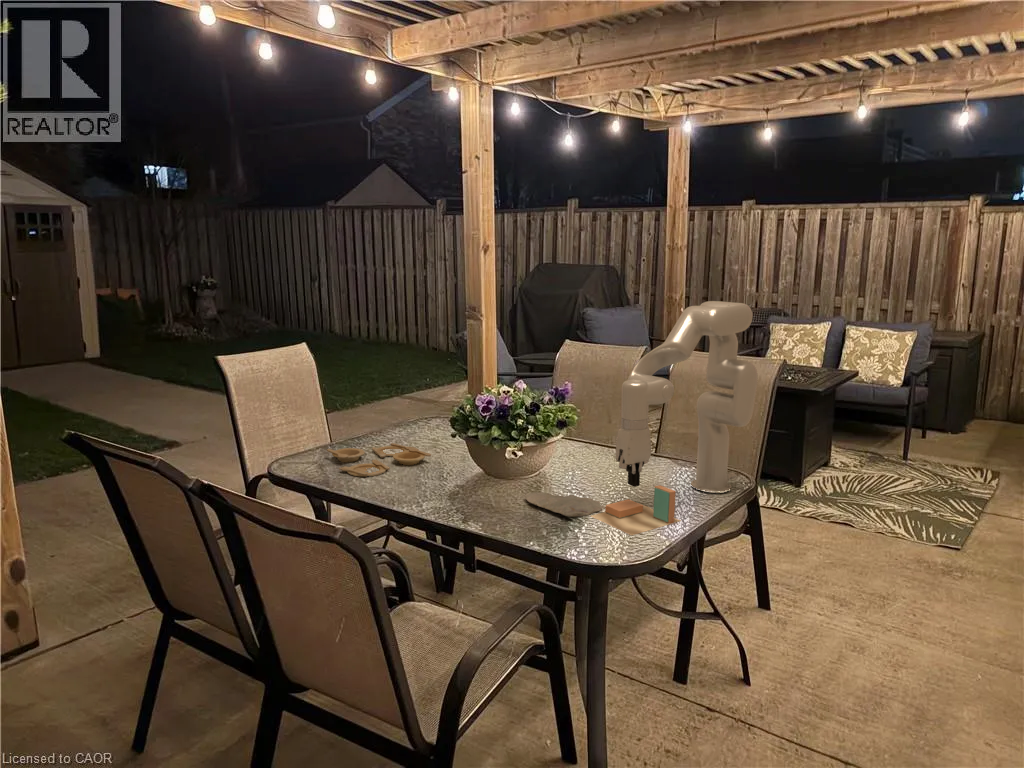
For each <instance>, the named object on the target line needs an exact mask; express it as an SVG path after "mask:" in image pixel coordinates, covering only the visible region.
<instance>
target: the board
mask: <svg viewBox="0 0 1024 768" xmlns="http://www.w3.org/2000/svg"><path fill="white" fill-rule="evenodd" d="M638 503H639V502H638ZM639 504H641V505H643V512H641V513H638V514H634V515H631V516H627V517H623V518H620V519H619V518H617V517H615V516H613V515H610V514H608V513H607V512H605V511H604V512H598V513H596V514H595V513H594V514H593V515H592V514H590V517H591V518H594V519H595V520H597V521H600V522H602V523H604V524H607V525H609V526H611V527H612V528H615V529H617V530H619V531H621V532H624V533H626V534H628V535H630V536H635V535H638V534H642V533H645V532H649V531H652V530H655V529H658V528H663V527H666V526H669V525H672V524H676V523H679V522H682V520H681V519H678V518H676V517H674V522H672V523H667V522H664V521H662V520H659V519H657V518H655V517H653V512H654V508H651V507H649V506H647V505H644V504H642V503H639Z"/></svg>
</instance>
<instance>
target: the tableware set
mask: <svg viewBox="0 0 1024 768" xmlns="http://www.w3.org/2000/svg"><path fill="white" fill-rule="evenodd" d="M385 449H401V450H403V452H400V453H395V454H386V453H384V452H383V450H385ZM371 450H372V451H373V452H374V454H375V455H377V456H379V457H380V458H381V459H382V458H385V457H388V456H390V457H392V459H394V461H398V462H399V464H400V465H402V464H403V465H402V466H414V464H415V465H418V464H419V463H420V461H423V460H424V459H425V458H426V457H428V458H429V457H432V453H430V452H426V451H422V450H419V448H417V447H414V446H406V445H402V444H398V443H394V442H391V443H390V445H385V446H379V447H372V448H371ZM326 452H328V453H330V454H331V455H332V456H333V457H335V458H337V460H338V461H339V462H340V461H341V463H353V461H354V462H357V461H358V460H359V459H360V457H362V456H363V455H365V453H366V452H365V450H364V449H360V448H355V447H354V448H353V447H351V448H350V447H345V448H338V449H336V450H334V449H332V448H327V449H326ZM417 463H418V464H417ZM372 467H375V468H377V469H379V471H376V472H372V473H368V472H365V471H367V469H368V468H372ZM366 468H367V469H366ZM390 469H391V468H390V467H389V466H388V465H386V464H385V463H384V462H382V461H380V460H378V459H373V460H371V463H367V462H366V463H360V464H359V463H358V464H353V465H351V466H341V467H338V470H340V471H343V472H347V474H349V475H351V476H355V477H362V478H363V477H366V478H367V476H369V477H374V476H376V477H377V476H380V475H382V473H383V474H384V473H386V472H387V471H390Z"/></svg>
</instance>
